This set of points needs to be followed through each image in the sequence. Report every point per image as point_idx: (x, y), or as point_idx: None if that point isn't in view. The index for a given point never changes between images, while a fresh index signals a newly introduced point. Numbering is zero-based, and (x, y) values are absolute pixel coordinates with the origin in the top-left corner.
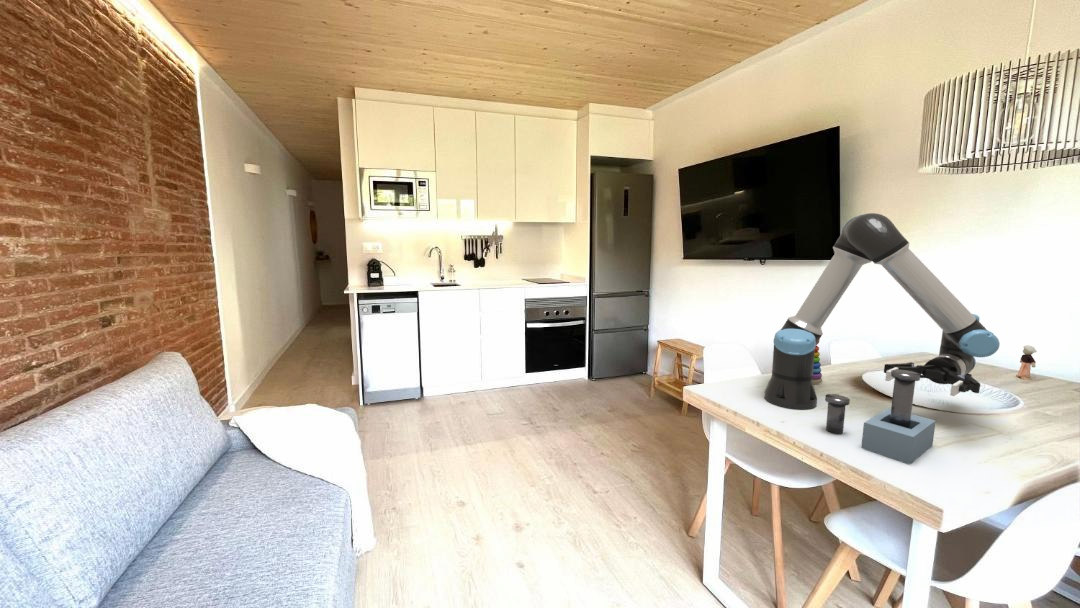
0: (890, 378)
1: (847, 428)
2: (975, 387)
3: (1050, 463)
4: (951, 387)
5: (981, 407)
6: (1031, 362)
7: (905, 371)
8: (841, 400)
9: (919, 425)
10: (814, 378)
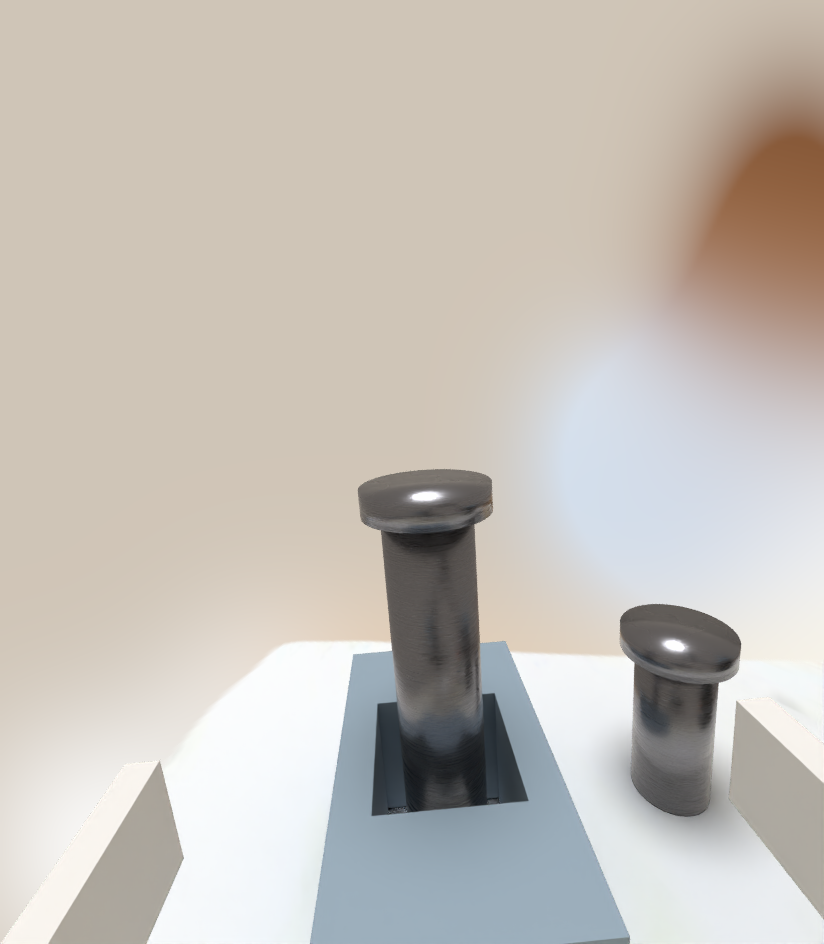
0: (774, 833)
1: (707, 882)
2: None
3: None
4: (164, 781)
5: None
6: None
7: (437, 489)
8: (635, 619)
9: (364, 769)
10: None
